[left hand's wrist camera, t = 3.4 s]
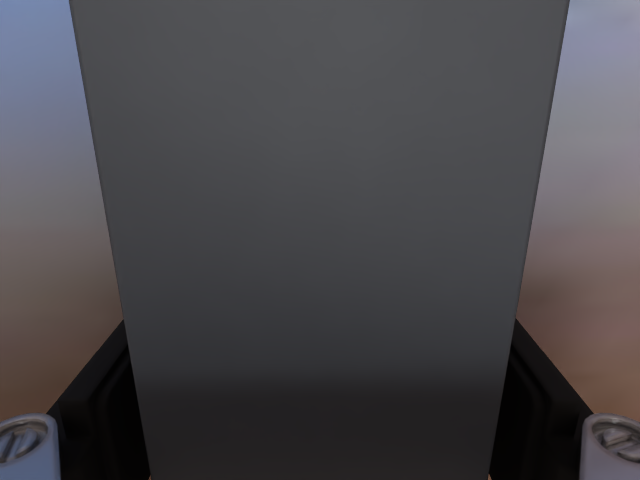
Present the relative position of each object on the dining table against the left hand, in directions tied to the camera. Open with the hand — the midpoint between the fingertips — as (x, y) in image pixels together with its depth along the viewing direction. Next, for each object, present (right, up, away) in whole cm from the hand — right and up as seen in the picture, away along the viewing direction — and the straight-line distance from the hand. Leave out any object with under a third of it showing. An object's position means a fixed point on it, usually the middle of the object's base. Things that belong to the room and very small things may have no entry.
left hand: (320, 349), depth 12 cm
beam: (0, +24, -6) cm, 25 cm away
